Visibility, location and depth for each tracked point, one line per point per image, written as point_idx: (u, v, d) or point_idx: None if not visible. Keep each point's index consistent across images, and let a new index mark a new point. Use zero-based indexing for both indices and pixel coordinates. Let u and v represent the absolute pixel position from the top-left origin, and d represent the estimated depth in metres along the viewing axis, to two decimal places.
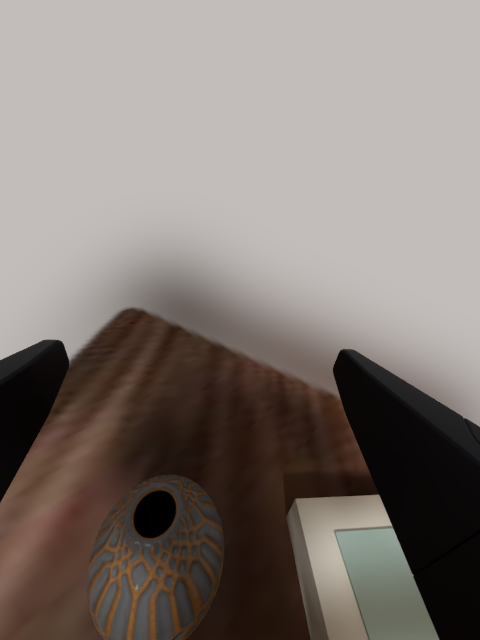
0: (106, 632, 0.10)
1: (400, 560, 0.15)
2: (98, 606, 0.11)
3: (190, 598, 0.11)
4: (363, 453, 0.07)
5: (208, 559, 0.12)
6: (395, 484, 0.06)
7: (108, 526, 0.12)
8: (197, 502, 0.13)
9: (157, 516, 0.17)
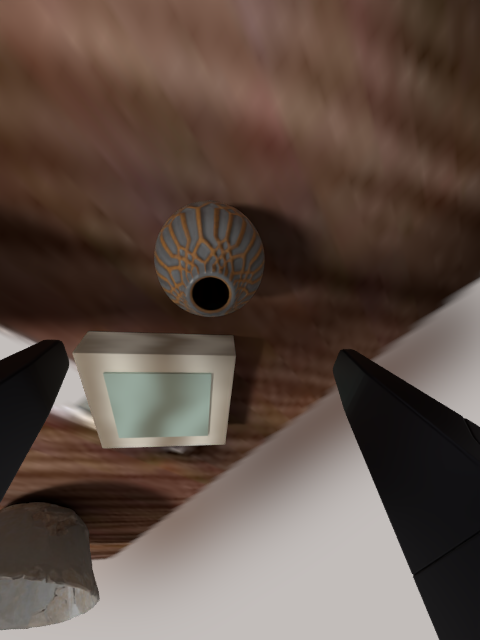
0: (161, 235, 0.14)
1: (193, 401, 0.24)
2: (171, 231, 0.13)
3: (171, 299, 0.15)
4: (363, 453, 0.07)
5: (190, 312, 0.15)
6: (395, 484, 0.06)
7: (218, 234, 0.13)
8: (225, 312, 0.14)
9: None
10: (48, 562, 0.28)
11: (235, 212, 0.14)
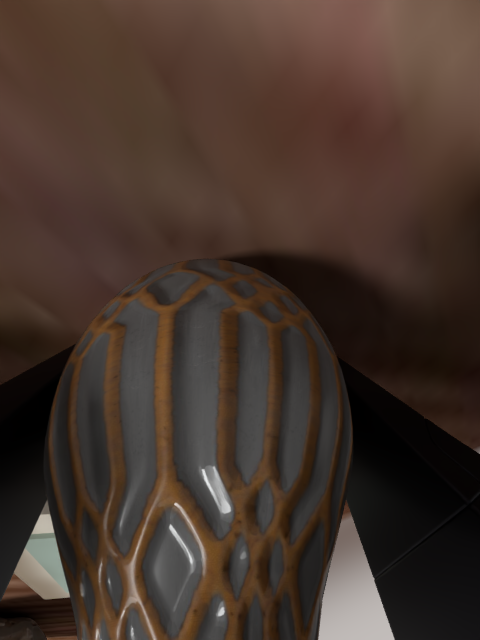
0: (58, 386, 0.05)
1: None
2: (72, 401, 0.04)
3: None
4: None
5: None
6: (359, 486, 0.06)
7: (237, 447, 0.03)
8: None
9: None
10: None
11: (282, 313, 0.05)
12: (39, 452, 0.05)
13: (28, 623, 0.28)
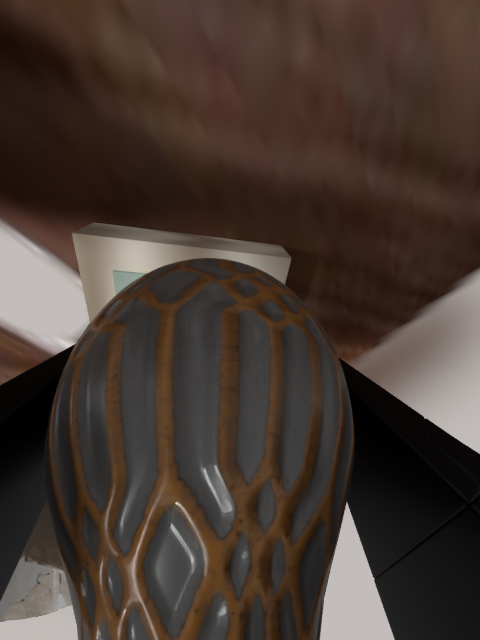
0: (58, 385, 0.05)
1: None
2: (72, 400, 0.04)
3: None
4: None
5: None
6: (358, 486, 0.06)
7: (238, 446, 0.03)
8: None
9: None
10: None
11: (283, 312, 0.05)
12: (39, 452, 0.05)
13: None
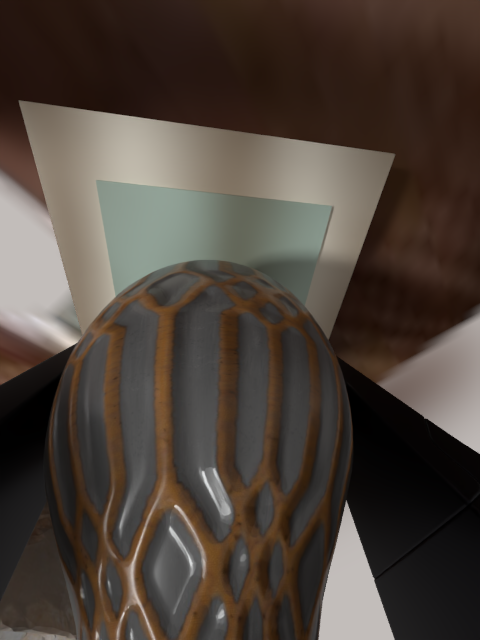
0: (58, 387, 0.05)
1: None
2: (72, 403, 0.04)
3: None
4: None
5: None
6: (358, 486, 0.06)
7: (237, 449, 0.03)
8: None
9: None
10: None
11: (282, 314, 0.05)
12: (39, 452, 0.05)
13: None
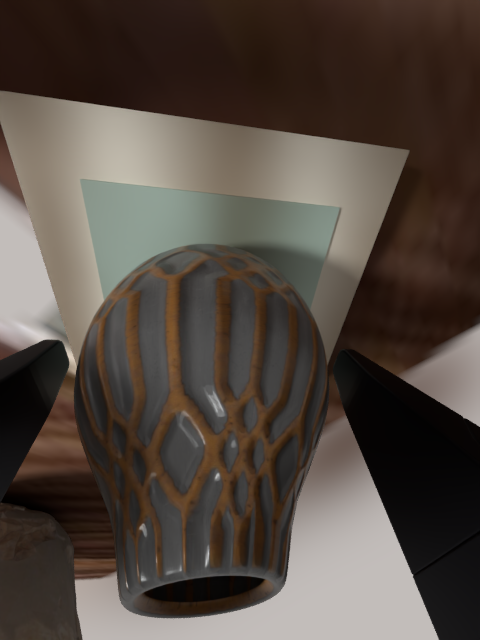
0: (84, 343, 0.06)
1: None
2: (99, 348, 0.05)
3: None
4: (363, 453, 0.07)
5: None
6: (395, 484, 0.06)
7: (229, 374, 0.04)
8: None
9: None
10: None
11: (268, 282, 0.06)
12: None
13: (50, 516, 0.25)
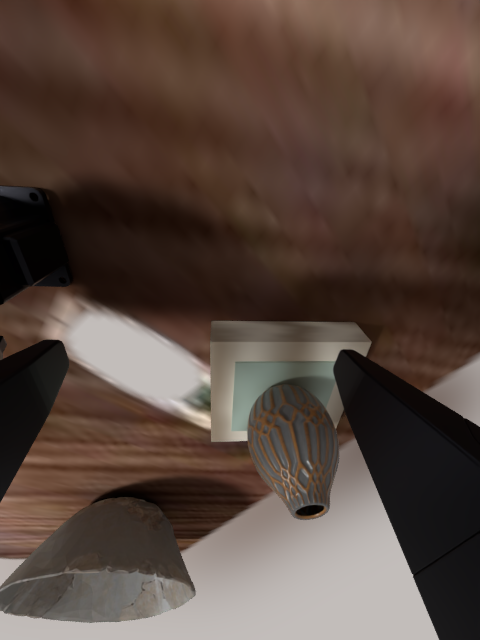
0: (260, 441, 0.18)
1: (315, 391, 0.23)
2: (271, 446, 0.17)
3: None
4: (363, 453, 0.07)
5: None
6: (395, 484, 0.06)
7: (312, 457, 0.16)
8: None
9: None
10: (154, 556, 0.28)
11: (317, 419, 0.18)
12: None
13: (157, 506, 0.37)
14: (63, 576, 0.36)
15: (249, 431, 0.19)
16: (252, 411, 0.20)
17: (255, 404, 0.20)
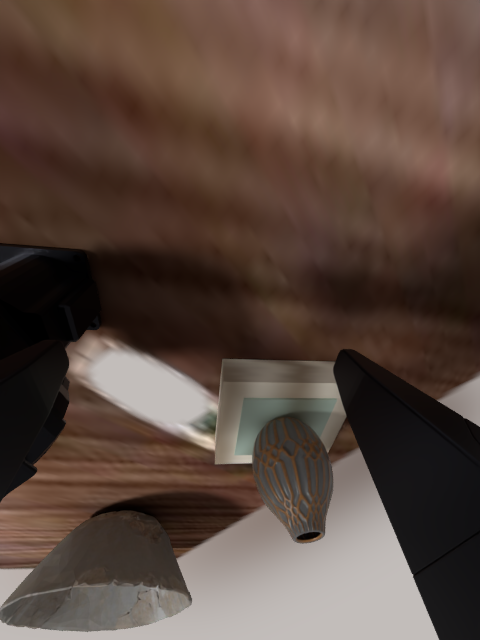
0: (265, 472, 0.20)
1: (312, 423, 0.25)
2: (276, 479, 0.19)
3: None
4: (363, 453, 0.07)
5: None
6: (395, 484, 0.06)
7: (311, 489, 0.19)
8: None
9: None
10: (156, 569, 0.30)
11: (316, 454, 0.20)
12: None
13: (155, 519, 0.39)
14: None
15: (255, 461, 0.22)
16: (257, 443, 0.23)
17: (260, 436, 0.23)
